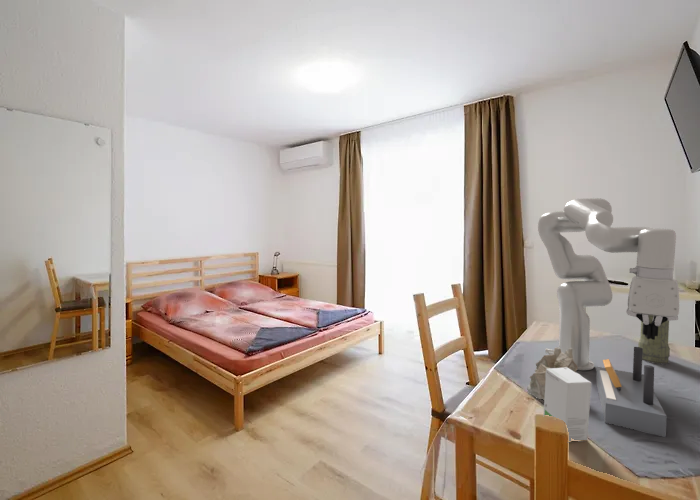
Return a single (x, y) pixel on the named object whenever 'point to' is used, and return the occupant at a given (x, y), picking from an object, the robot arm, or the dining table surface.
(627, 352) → the dining table surface
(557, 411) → the skincare box
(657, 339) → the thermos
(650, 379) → the dark gray rod
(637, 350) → the dark grey cylinder
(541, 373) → the beige rock sculpture
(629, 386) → the strip
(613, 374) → the wooden plank tile
